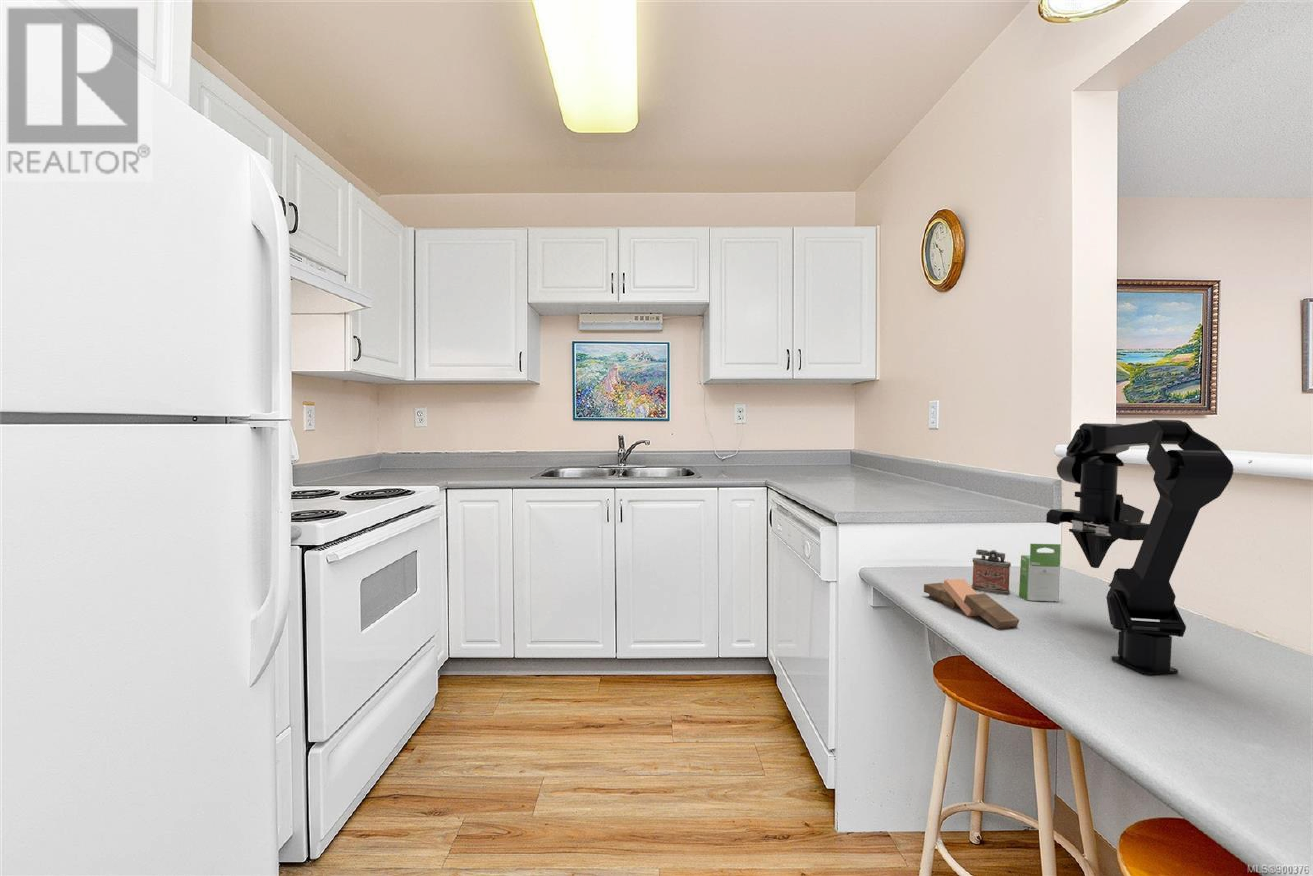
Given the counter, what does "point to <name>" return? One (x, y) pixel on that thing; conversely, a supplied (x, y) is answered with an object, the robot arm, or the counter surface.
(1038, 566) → the ink box
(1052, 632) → the counter surface
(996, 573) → the lighter
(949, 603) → the domino
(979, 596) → the domino
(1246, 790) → the counter surface
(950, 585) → the domino
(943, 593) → the domino
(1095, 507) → the robot arm
